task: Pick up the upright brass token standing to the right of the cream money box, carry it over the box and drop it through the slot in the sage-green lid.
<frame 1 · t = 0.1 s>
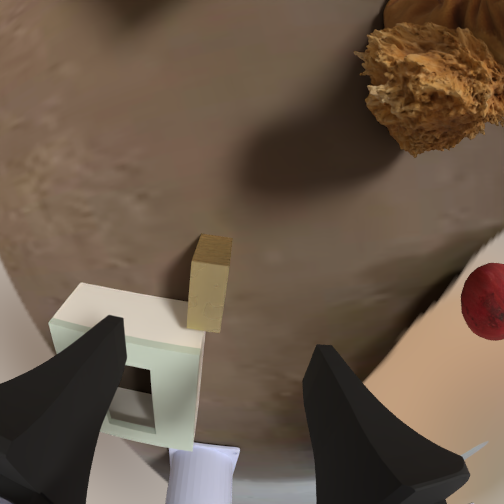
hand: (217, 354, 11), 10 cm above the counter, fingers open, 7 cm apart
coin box: (143, 353, 24), on the counter
onion: (469, 277, 22), on the counter
token: (212, 266, 21), on the counter
stuffed squirrel: (419, 67, 16), on the counter
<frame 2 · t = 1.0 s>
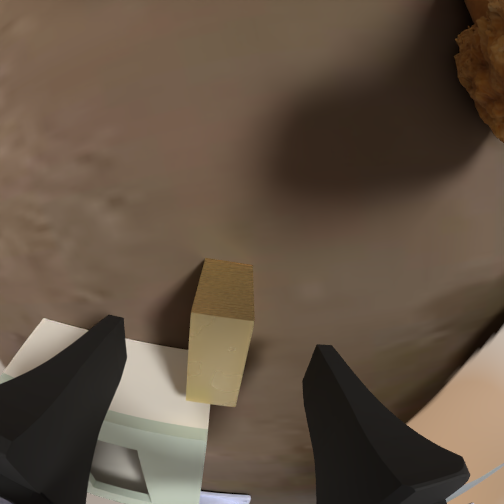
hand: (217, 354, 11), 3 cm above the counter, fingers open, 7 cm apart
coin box: (130, 405, 17), on the counter
token: (222, 305, 14), on the counter
stuffed squirrel: (496, 38, 9), on the counter
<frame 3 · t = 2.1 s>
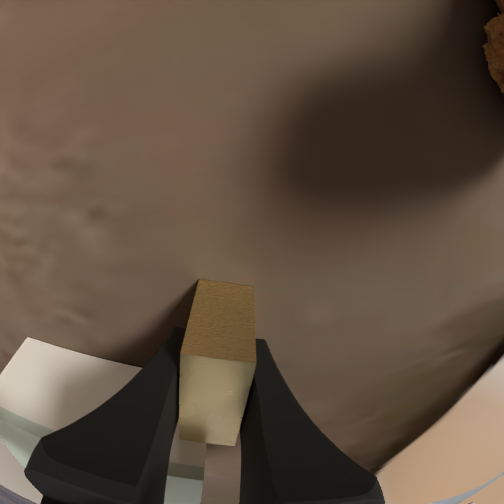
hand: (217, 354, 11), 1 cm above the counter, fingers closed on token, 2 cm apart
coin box: (123, 427, 16), on the counter
token: (219, 330, 12), on the counter, touching gripper
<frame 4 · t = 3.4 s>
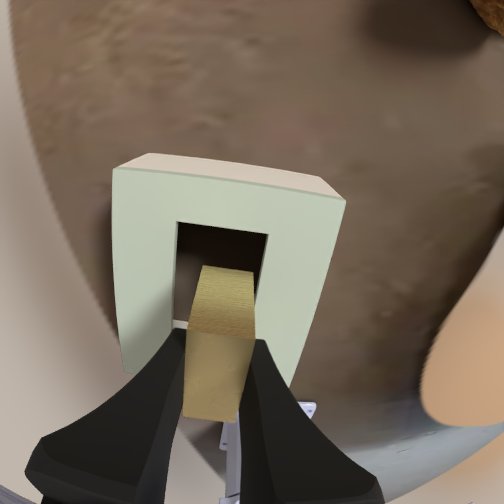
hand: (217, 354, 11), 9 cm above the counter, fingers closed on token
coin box: (220, 257, 20), on the counter
token: (221, 314, 13), point 7 cm above the counter, touching gripper
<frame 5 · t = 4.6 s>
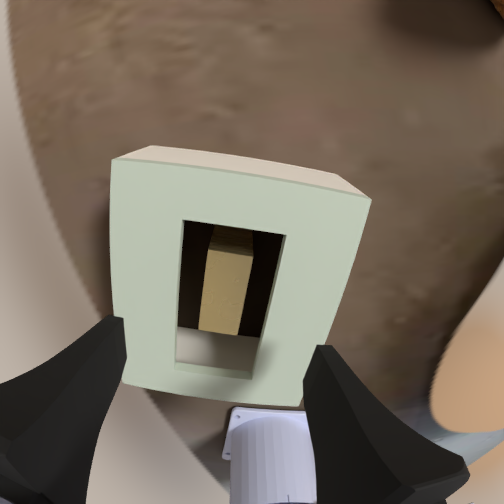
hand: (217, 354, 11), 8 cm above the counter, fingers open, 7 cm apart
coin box: (227, 260, 18), on the counter
token: (228, 259, 18), resting in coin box
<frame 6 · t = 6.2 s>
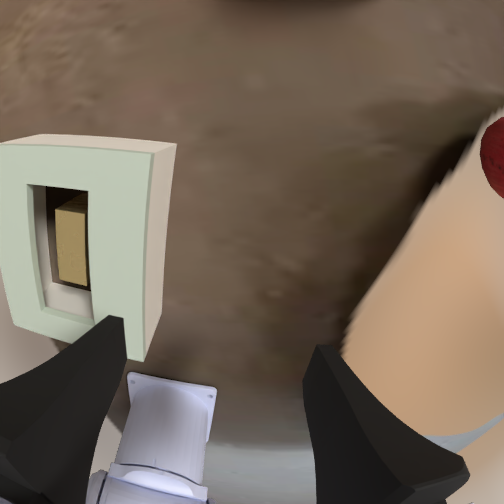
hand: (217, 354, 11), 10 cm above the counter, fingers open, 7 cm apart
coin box: (97, 225, 19), on the counter
onion: (484, 149, 17), on the counter
token: (97, 225, 19), resting in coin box
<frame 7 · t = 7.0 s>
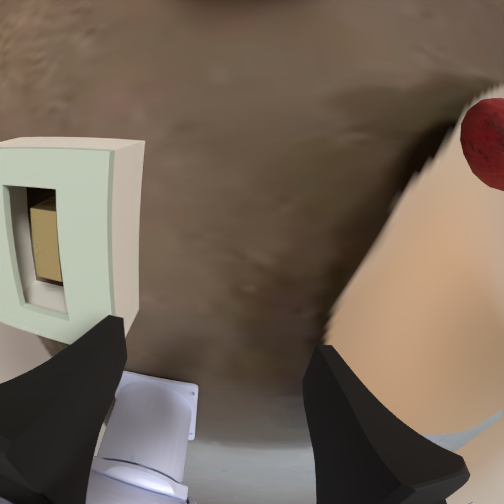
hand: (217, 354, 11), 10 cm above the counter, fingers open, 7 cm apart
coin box: (74, 224, 19), on the counter
onion: (467, 136, 17), on the counter
token: (74, 223, 19), resting in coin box
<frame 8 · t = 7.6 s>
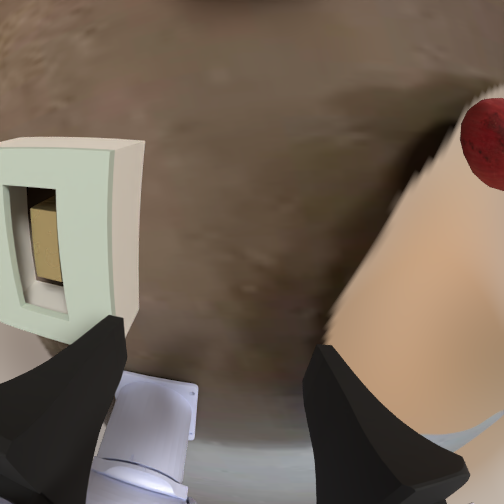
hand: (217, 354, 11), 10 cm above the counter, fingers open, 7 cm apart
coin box: (74, 224, 19), on the counter
onion: (467, 136, 17), on the counter
token: (74, 223, 19), resting in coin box
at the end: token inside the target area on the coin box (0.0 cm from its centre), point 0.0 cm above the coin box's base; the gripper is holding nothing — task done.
